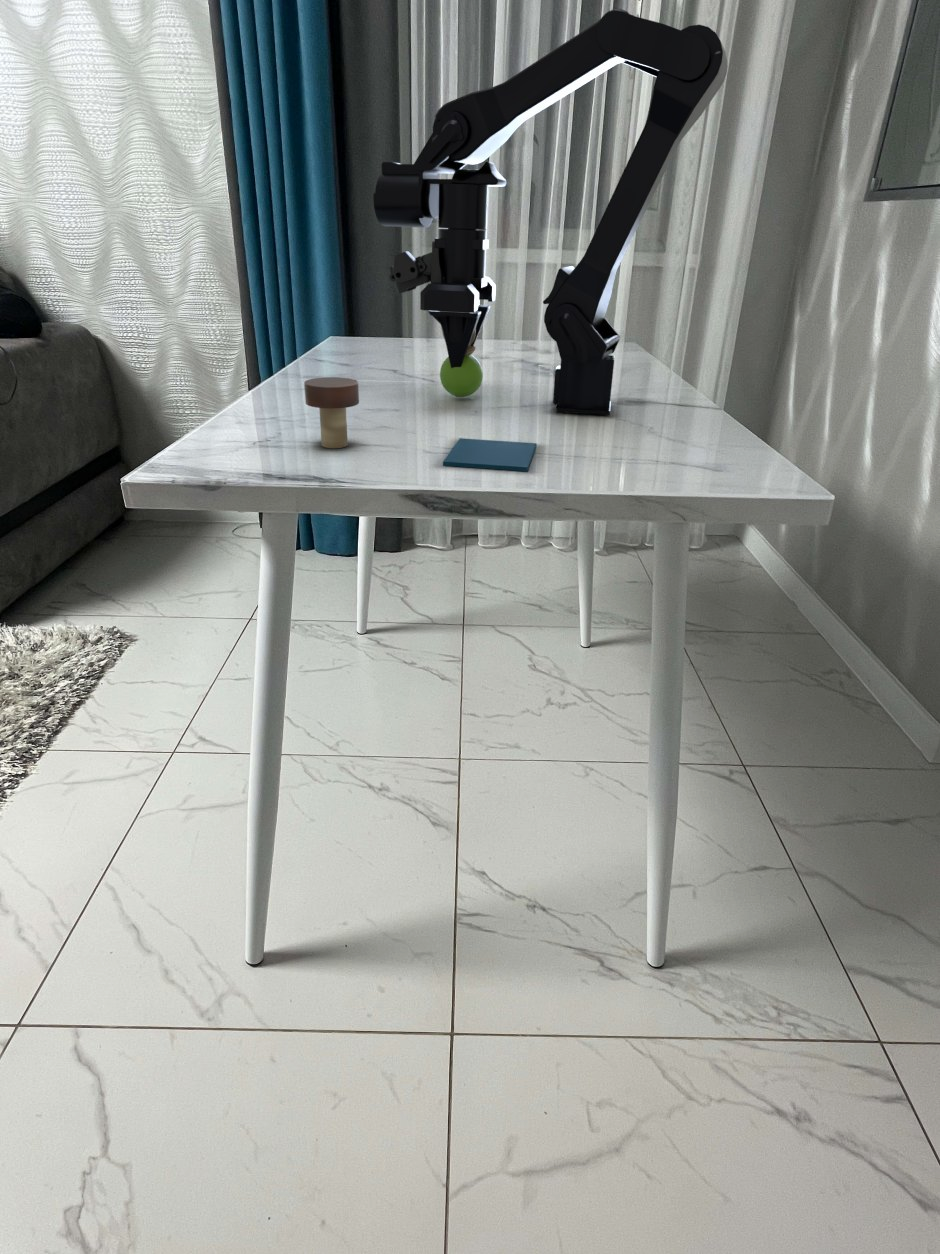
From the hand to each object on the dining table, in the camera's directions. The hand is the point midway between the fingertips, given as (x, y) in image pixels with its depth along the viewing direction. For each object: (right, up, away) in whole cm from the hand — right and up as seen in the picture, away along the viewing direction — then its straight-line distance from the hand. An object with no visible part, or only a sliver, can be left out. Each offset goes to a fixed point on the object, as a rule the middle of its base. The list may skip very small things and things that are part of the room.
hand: (459, 366), depth 102 cm
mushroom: (-12, -15, -21) cm, 28 cm away
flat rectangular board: (+4, -16, -23) cm, 28 cm away
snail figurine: (0, -3, +2) cm, 4 cm away
